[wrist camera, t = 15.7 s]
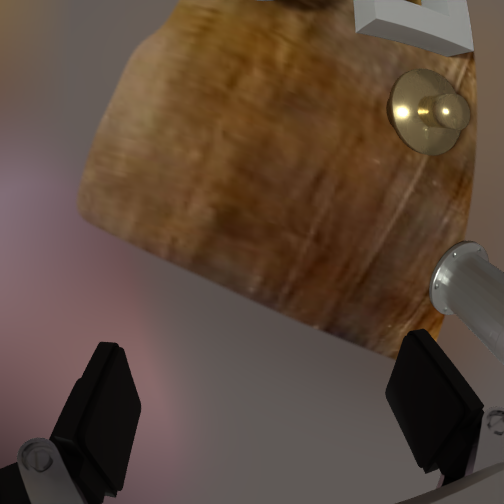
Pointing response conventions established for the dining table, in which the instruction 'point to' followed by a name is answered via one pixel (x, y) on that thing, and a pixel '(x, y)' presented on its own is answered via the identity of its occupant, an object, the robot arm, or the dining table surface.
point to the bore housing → (418, 23)
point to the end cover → (426, 111)
